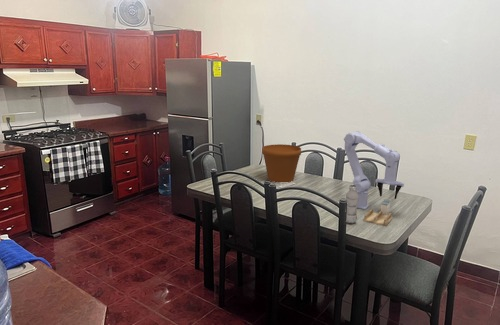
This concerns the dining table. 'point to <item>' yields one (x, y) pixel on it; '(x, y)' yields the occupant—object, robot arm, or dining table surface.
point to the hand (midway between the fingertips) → (388, 197)
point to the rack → (377, 218)
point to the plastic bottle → (352, 204)
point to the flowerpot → (281, 161)
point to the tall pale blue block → (385, 207)
